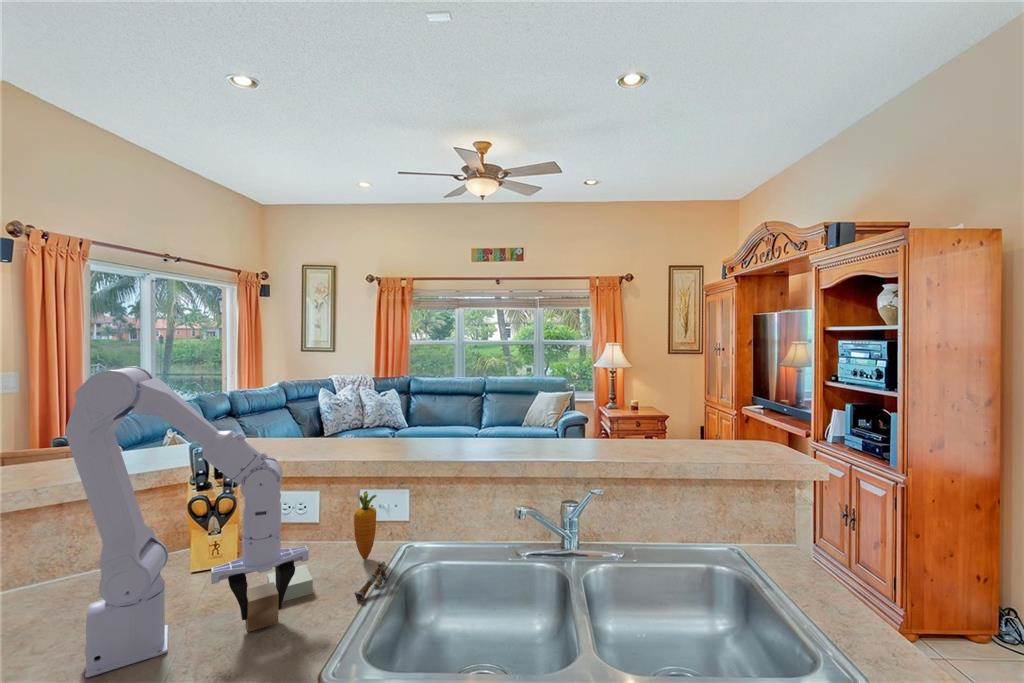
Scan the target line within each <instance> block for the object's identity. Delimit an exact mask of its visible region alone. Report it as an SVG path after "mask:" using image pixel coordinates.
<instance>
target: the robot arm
mask: <svg viewBox="0 0 1024 683" xmlns="http://www.w3.org/2000/svg"><path fill="white" fill-rule="evenodd" d="M74 399H75V402H74V404H73V407H72V410H71V413H70V416H69V419H68V421H67V424H66V427H65V438H66V440H67V444H68V446H69V449H70V452H71V454H72V457H73V460H74V463H75V466H76V469H77V471H78V472H77V473H78V475H79V478H80V481H81V484H82V486H83V489H84V492H85V496H86V498H87V501H88V504H89V507H90V510H91V513H92V515H93V519H94V521H95V524H96V526H97V530H98V533H99V536H100V538H101V542H102V548H101V552H100V557H99V562H98V566H99V569H100V574H101V578H100V581H99V583H98V592H99V595H100V597H101V599H99V600H98V601H95V602H91V603H89V605H88V607H87V612H86V620H85V621H86V624H85V646H84V656H85V673H84V674H85V676H84V677H85V678H90V677H94V676H97V675H100V674H103V673H106V672H110V671H113V670H116V669H120V668H122V667H125V666H128V665H132V664H135V663H139V662H141V661H144V660H147V659H148V660H149V659H152V658H155V657H157V656H161V655H164V654H166V653H167V652H168V648H169V646H168V644H169V643H168V641H169V637H168V636H169V625H168V624H165V622H166V621H165V620H166V619H165V618H166V612H165V611H166V609H165V608H166V607H165V606H166V605H165V603H166V601H165V597H166V596H165V595H166V594H165V593H166V591H165V590H166V588H165V587H166V586H165V584H166V582H165V580H164V578H163V576H162V574H161V571H162V570H163V569H164V568H165V566H166V564H167V563H168V560H169V550H168V548H167V546H166V544H164V543H163V542H162V541H160V539H159V538H158V537H157V535H156V533H155V529H153V528H152V527H150V526H149V525H147V524H146V523H145V520H144V518H143V515H142V512H141V508H140V505H139V503H138V502H139V501H138V500H137V497H136V494H135V491H134V487H133V484H132V481H131V478H130V475H129V472H128V470H127V467H126V464H125V461H124V458H123V454H122V452H121V448H120V445H119V442H118V439H117V436H116V433H115V431H116V429H117V428H118V427H119V426H120V425H121V424H122V423H123V421H124V420H125V418H126V417H127V416H128V414H131V415H139V416H155V417H158V418H160V419H162V420H163V421H165V422H166V423H167V424H169V425H170V426H172V427H173V428H175V429H176V430H178V431H179V432H180V433H182V434H183V435H185V436H186V437H187V438H189V439H190V440H192V441H194V442H195V443H197V444H198V445H200V446H201V448H202V458H203V460H205V461H206V462H207V463H208V464H210V465H211V466H212V467H214V468H216V469H217V470H218V471H219V472H220V473H222V474H223V475H225V477H227V478H229V479H230V480H231V481H232V482H234V483H236V484H240V486H239V490H240V493H241V494H242V496H243V497H244V507H243V509H242V512H243V515H242V518H243V519H242V521H243V522H242V525H243V526H242V557H239V558H237V559H234V560H231V561H229V562H226V563H223V564H220V565H217V566H212V567H211V568H210V582H211V585H215V584H218V583H220V581H223V580H228V584H229V585H228V586H229V588H230V590H231V592H232V593H233V594H234V597H235V598H236V600H237V602H238V606H239V608H240V616H241V620H242V621H245V620H246V619H247V589H248V585H249V584H248V581H247V575H248V574H252V573H256V572H257V573H259V574H262V573H266V572H270V571H272V570H273V568H275V569H274V570H275V571H274V572H275V574H276V588H277V591H278V593H279V599H278V611H279V610H282V607H283V602H284V601H283V598H284V595H285V592H286V589H287V587H288V585H289V582H290V581H291V579H292V577H293V575H294V573H295V567H296V566H295V563H296V562H300V561H301V562H308V561H309V557H310V556H309V555H310V554H309V552H310V551H309V548H308V547H307V545H302V546H298V547H297V546H296V547H288V548H287V547H286V548H281V547H282V546H281V544H282V502H281V499H282V494H281V487H282V479H283V469H282V466H281V465H280V463H279V462H278V460H277V459H276V458H273V457H269V455H268V454H267V453H266V452H262V453H261V452H259V451H258V450H257V449H256V448H255V447H253V445H251V444H250V443H249V442H247V441H246V438H247V436H246V435H245V434H244V433H243V432H242V431H240V432H239V433H236V432H234V430H219V429H218V428H216V426H214V425H213V424H212V423H211V422H210V421H208V420H207V419H206V418H205V417H204V416H203V415H202V414H200V412H198V411H197V410H196V409H194V407H192V406H191V405H190V404H189V403H188V402H187V401H186V400H184V398H182V397H181V396H180V395H179V394H177V393H176V392H175V390H173V389H172V388H171V387H170V386H169V385H168V384H166V383H165V382H164V381H163V380H161V379H159V378H158V377H153V375H152V374H151V373H150V372H149V371H148V370H146V369H145V368H142V367H140V366H133V365H132V366H123V367H120V368H118V369H108V370H101V371H99V372H96V373H94V374H93V375H91V376H90V377H88V379H87V380H86V381H85V382H83V384H81V385H80V387H79V388H78V389H76V390H75V392H74Z"/></svg>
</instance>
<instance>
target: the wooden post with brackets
mask: <svg viewBox="0 0 1024 683" xmlns="http://www.w3.org/2000/svg"><path fill="white" fill-rule="evenodd" d="M384 568H386V561H385V560H383V561H380V562H379V563H378V564H377V566H376V569H375V570H374V572H372V573H371V575H369V578H368V579H367V580H366V583H365V584H364V585H363V586H362V587H361V588H360V590H358V591H357V590H356V591H355V592H354V596H355V598H356V599H357V600H362V601H364V602H365V601H366V598H365V597H366V594H367V593H368V591H369V589H370V588H371V586H374V587H373V589H374V590H377V589H380V588H381V587H382V585H384V584H383V582H384V581H387V580H389V579H388V574H387V573H386V571H385V569H384ZM379 575H381V578H379V579H378V576H379ZM373 584H374V585H373Z"/></svg>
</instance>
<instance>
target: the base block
mask: <svg viewBox="0 0 1024 683" xmlns="http://www.w3.org/2000/svg"><path fill="white" fill-rule="evenodd" d="M308 568H309V567H308V566H307V564H306V563H305V564H302V565H297V566H295V573H294V575H293V577H292V579H291V581H290V582H289V585H288V587H287V589H286V592H285V595H284V598H283V602H287V601H289V600H293V599H297V598H301V597H304V596H308V595H311V594H313V591H314V590H313V588H314V585H313V584H314V580H313V579H314V578H313V577H312V575H311V572H310V571H309V569H308ZM266 575H267V576H266V584H268V583H272V582H274V583H275V586H276V574H275V571H273V572H269V573H266Z"/></svg>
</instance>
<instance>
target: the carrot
mask: <svg viewBox="0 0 1024 683" xmlns="http://www.w3.org/2000/svg"><path fill="white" fill-rule="evenodd" d="M358 496H359V497H358V499H359V502H360V505H362V506H361V507H358V508H356V510H355V512H354V515H353V524H354V525H353V526H354V528H353V529H354V538H355V543H356V548H357V551H358V552H359V555H360V556H361V558H362V560H365V561H366V560H367V559H368V558H369V556H370V554H371V553H372V549H373V546H374V542H375V537H376V528H377V527H376V526H377V509H376V508H375V507H373V506H370V504H371V502H372V501H373V500H374V499H375V498H376V497H377V494H372V496H371V497H370V498H369V499H368V497H369V493H368V491H367V490H366V491H365V490H364V492H363V495H362V494H361V495H358Z"/></svg>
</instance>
